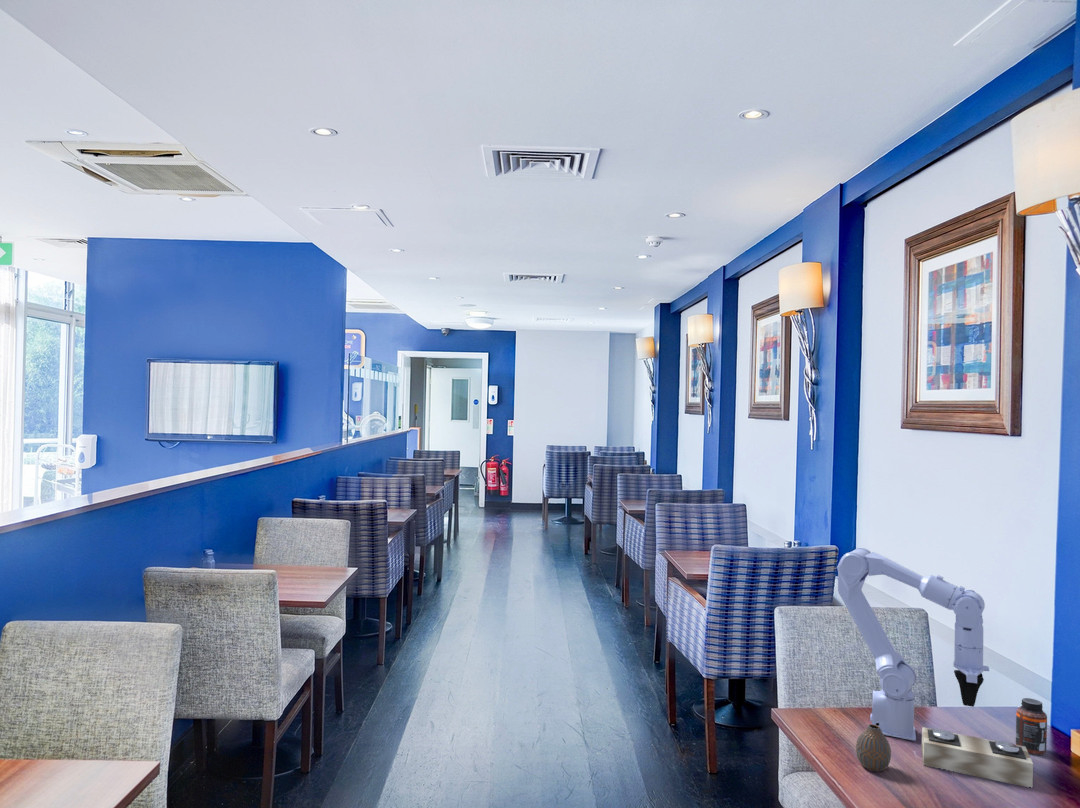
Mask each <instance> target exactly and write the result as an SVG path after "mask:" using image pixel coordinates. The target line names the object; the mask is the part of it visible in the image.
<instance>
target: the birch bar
mask: <svg viewBox="0 0 1080 808" xmlns="http://www.w3.org/2000/svg"><path fill="white" fill-rule="evenodd" d="M933 730H936V729H934V728H929V727H924V726H922V727H921V754H922V755H921V756H923V757H922V765H923V766H924V765H926V766H925V767H929V766H931V767H930V768H934V767H935V769H938V768H941V769H940V770H943V769H946V770H945V771H948V770H950V771H949V772H953V771H954V773H958V774H963V775H967V776H973V777H976V778H977V777H978V778H982V779H986V780H987V779H988V780H992V781H997V782H1001V783H1005V784H1006V783H1007V784H1011V785H1016V786H1021V787H1025V788H1029V787H1031V788H1030V789H1033V787H1034V786H1033V782H1034V781H1033V780H1034V772H1033V771H1034V763H1033V760H1032V758H1031V756H1030V753H1028V751H1027V749H1026V747H1025V746H1019V745H1016V744H1015V745H1016V746H1018V747H1019V753H1017V754H1010V753H1005V752H1002V751H999V750H998V749H997V748H996V742H998V741H999V740H998V741H997V740H993V739H988V738H987V739H986V738H983V737H982V738H981V737H976V736H972V735H966V734H961V733H955V732H952V733H953V734H954V736H955V737H954V741H943V740H940V739H936V738H935V737H934V736H933Z"/></svg>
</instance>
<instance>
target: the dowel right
mask: <svg viewBox="0 0 1080 808" xmlns="http://www.w3.org/2000/svg"><path fill="white" fill-rule="evenodd" d="M996 748H997V749H998V750H999V751H1002V752H1005V753H1010V754H1017V753H1019V747H1018V746H1016V744H1014V743H1012V742H1009V741H1003V740H1000V741H999V740H998V742H996Z"/></svg>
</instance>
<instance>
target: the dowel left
mask: <svg viewBox="0 0 1080 808" xmlns="http://www.w3.org/2000/svg"><path fill="white" fill-rule="evenodd" d="M953 733H954V732H951V731H948V730H945V729H935V730H933V736H934V737H935V738H936V739H940V740H943V741H954V737H955V736H954V734H953Z"/></svg>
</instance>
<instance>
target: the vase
mask: <svg viewBox="0 0 1080 808" xmlns="http://www.w3.org/2000/svg"><path fill="white" fill-rule="evenodd" d="M855 744H856V745H855V753H856V757H857V760H858V761H859V763H860V765H861V766H862V767H863V766H864V767H863V768H865V769H866V768H867V770H868V769H869V770H868V771H871V770H872V772H877V771H878V772H883V771H884V770H886V769H887V768H888V767H889V765H890V763H891V759H892V750H891V745H890V743H889V740H888V738H887V737H886V735H884V734H883V733H882V731H881V729H880V727H879V726H877V725H874V724H872V723H871V724H868V725H867V726H866V728H865V730H863V731H862V732H861V733H860V734H859V735H858V737H857V740H856V743H855Z"/></svg>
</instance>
